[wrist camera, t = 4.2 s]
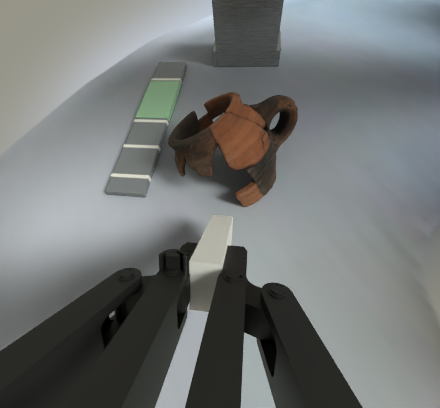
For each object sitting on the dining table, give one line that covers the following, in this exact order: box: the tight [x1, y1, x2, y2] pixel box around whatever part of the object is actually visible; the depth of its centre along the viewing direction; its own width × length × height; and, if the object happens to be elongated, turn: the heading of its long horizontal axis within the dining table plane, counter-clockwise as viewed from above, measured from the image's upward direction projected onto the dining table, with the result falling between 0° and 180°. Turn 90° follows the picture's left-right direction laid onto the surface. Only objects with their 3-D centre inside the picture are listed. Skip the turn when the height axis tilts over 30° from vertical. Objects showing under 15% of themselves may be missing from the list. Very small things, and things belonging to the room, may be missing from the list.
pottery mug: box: [168, 92, 298, 207], centre depth 22 cm, size 12×10×8 cm
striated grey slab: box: [212, 0, 284, 66], centre depth 29 cm, size 5×9×8 cm, turn 83°
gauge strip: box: [105, 62, 187, 197], centre depth 27 cm, size 22×4×1 cm, turn 173°
